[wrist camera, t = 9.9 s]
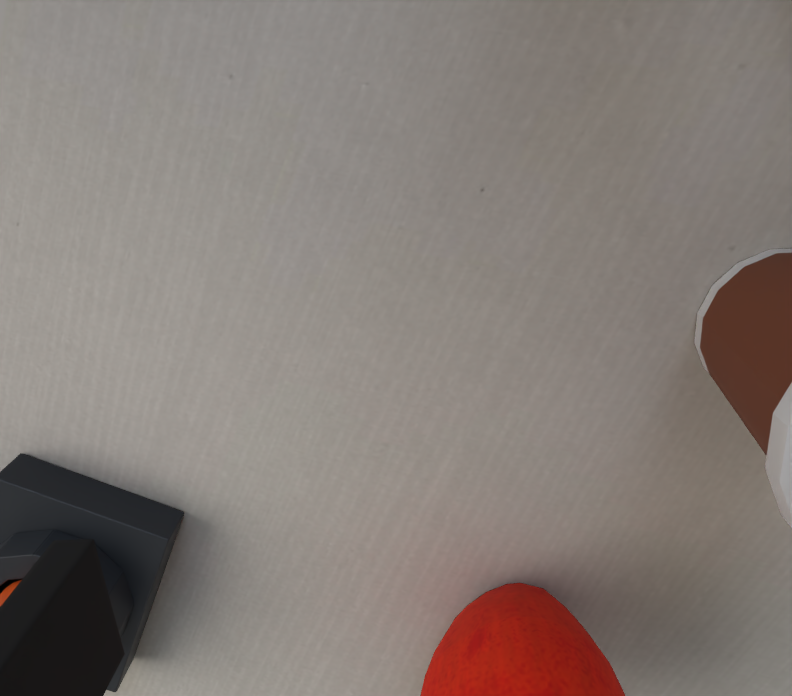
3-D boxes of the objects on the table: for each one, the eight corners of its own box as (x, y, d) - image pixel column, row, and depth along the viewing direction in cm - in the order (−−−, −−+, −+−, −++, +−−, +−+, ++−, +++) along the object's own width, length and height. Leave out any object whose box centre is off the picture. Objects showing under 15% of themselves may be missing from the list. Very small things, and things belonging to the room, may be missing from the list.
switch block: (21, 452, 32) (-33, 500, 29) (185, 511, 33) (154, 566, 29) (-16, 608, 36) (-68, 669, 32) (133, 659, 37) (99, 724, 33)
